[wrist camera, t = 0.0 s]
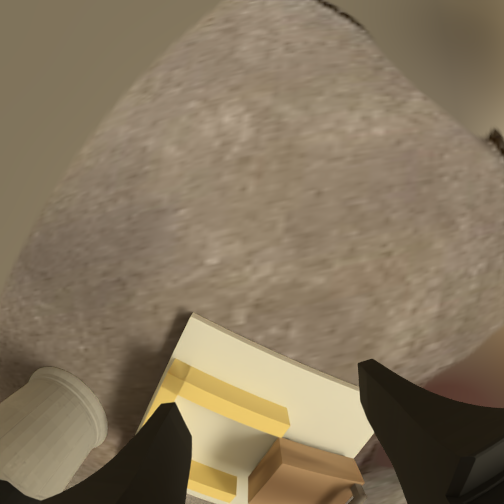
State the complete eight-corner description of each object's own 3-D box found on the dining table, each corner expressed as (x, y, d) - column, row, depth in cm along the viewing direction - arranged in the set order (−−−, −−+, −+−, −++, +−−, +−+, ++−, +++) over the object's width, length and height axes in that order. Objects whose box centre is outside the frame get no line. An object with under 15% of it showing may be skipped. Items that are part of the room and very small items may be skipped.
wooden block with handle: (319, 490, 22) (330, 535, 16) (248, 471, 22) (247, 520, 16) (351, 453, 22) (371, 498, 16) (278, 431, 21) (285, 480, 16)
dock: (291, 516, 23) (294, 540, 20) (125, 457, 23) (113, 480, 19) (389, 398, 22) (406, 419, 19) (193, 312, 22) (183, 326, 18)
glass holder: (125, 419, 22) (45, 549, 7) (64, 478, 23) (3, 566, 8) (49, 347, 22) (-77, 427, 7) (5, 422, 23) (-75, 491, 8)
